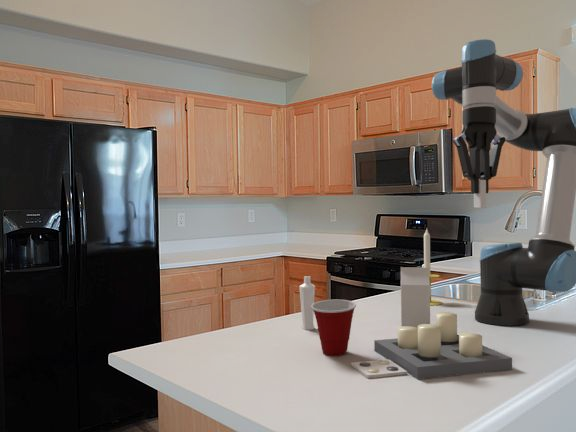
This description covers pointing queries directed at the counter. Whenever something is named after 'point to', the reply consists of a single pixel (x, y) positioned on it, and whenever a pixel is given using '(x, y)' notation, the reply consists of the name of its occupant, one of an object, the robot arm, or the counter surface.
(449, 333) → the cream rounded cylinder
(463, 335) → the cream rounded cylinder
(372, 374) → the card
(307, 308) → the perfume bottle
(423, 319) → the milk carton
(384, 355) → the board
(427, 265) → the candle
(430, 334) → the cream domed cylinder
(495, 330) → the counter surface
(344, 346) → the plastic cup
